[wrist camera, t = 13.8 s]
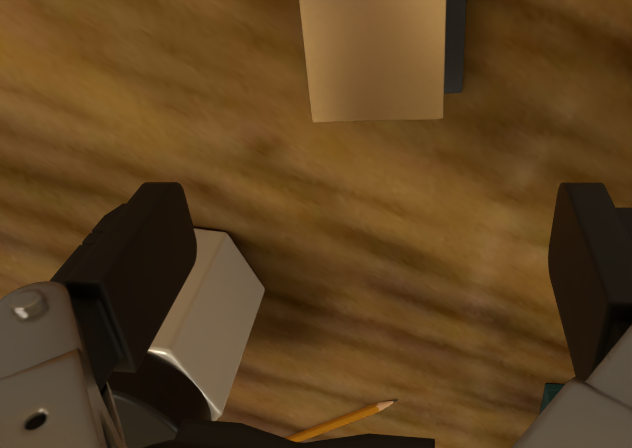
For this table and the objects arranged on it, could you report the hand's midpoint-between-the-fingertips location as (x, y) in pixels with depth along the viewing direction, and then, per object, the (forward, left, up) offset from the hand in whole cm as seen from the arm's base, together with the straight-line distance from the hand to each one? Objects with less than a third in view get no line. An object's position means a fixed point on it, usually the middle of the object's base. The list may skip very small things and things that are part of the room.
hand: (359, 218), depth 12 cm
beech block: (0, 0, -15) cm, 15 cm away
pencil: (+8, +30, -16) cm, 35 cm away
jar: (+12, +15, -16) cm, 25 cm away
